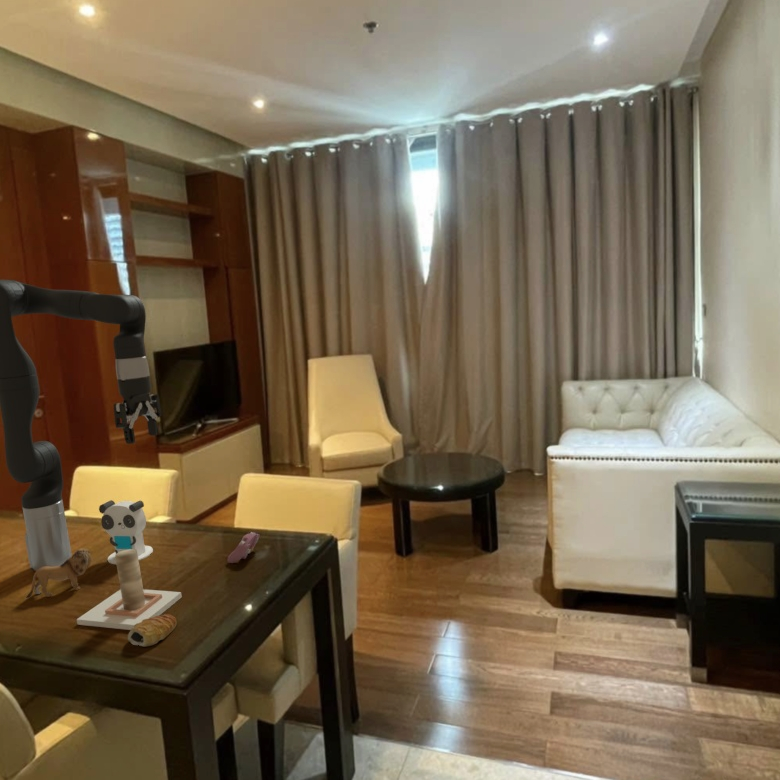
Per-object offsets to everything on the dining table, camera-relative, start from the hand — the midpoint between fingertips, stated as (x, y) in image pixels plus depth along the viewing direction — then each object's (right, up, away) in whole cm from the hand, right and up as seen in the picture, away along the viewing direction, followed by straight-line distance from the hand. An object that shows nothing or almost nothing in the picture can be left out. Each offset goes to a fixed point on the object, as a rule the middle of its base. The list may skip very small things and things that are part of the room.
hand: (142, 439), depth 151 cm
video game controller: (+25, -31, +5) cm, 40 cm away
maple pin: (+7, -35, -20) cm, 41 cm away
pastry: (+15, -38, -31) cm, 51 cm away
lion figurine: (-16, -36, -6) cm, 40 cm away
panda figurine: (-8, -33, +11) cm, 36 cm away
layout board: (+6, -36, -20) cm, 41 cm away
